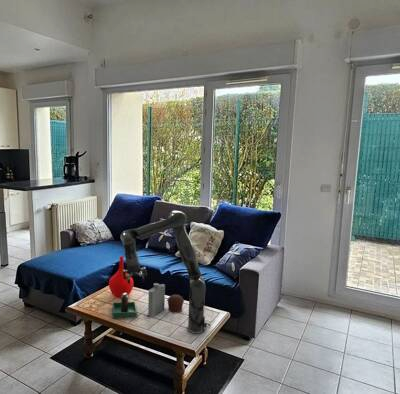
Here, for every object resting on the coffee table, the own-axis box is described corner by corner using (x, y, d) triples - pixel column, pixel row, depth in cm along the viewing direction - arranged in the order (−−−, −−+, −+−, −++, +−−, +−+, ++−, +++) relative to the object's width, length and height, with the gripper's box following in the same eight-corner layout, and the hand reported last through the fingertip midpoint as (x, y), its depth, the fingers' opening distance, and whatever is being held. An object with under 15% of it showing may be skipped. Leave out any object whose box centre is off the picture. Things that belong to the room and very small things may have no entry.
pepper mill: (127, 309, 232) (128, 292, 230) (128, 313, 227) (128, 295, 225) (120, 310, 231) (120, 292, 229) (121, 313, 226) (121, 295, 224)
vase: (123, 302, 243) (123, 262, 239) (103, 296, 253) (103, 257, 249) (138, 294, 258) (138, 256, 254) (119, 288, 268) (119, 251, 264)
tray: (134, 306, 238) (134, 301, 237) (136, 317, 223) (136, 312, 222) (112, 307, 236) (112, 302, 235) (113, 318, 221) (113, 313, 220)
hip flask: (150, 317, 222) (151, 288, 220) (146, 315, 225) (146, 286, 222) (165, 309, 235) (166, 281, 232) (160, 307, 237) (161, 279, 235)
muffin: (170, 314, 228) (170, 300, 226) (164, 307, 238) (164, 293, 237) (186, 312, 231) (187, 298, 230) (180, 304, 242) (180, 291, 240)
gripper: (144, 256, 206) (147, 276, 214) (120, 259, 207) (125, 279, 214) (144, 264, 199) (148, 285, 207) (120, 267, 200) (125, 288, 207)
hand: (136, 282), depth 210 cm, fingers open, 8 cm apart
